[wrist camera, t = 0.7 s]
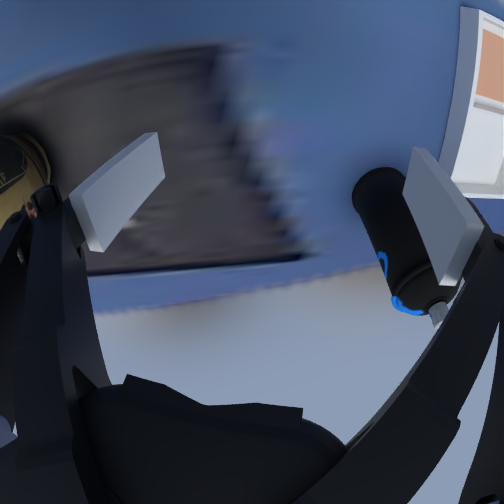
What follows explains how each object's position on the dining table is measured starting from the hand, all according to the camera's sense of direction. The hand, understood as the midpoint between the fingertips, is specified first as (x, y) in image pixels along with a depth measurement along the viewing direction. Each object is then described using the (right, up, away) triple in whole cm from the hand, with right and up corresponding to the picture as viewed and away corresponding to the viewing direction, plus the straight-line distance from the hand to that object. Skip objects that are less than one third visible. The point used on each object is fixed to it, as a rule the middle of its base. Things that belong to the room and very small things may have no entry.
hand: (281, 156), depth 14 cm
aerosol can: (+15, +3, +22) cm, 27 cm away
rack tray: (+29, +14, +11) cm, 34 cm away
